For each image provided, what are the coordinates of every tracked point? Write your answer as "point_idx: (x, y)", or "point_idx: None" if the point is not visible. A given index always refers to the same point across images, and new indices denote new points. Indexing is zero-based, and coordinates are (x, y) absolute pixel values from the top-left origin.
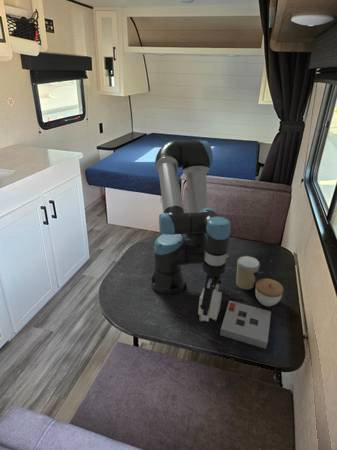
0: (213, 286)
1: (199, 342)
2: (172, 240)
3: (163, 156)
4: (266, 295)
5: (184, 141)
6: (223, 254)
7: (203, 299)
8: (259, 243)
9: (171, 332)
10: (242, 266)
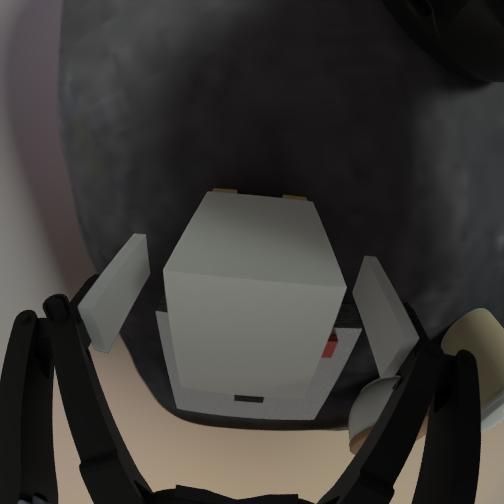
0: (389, 335)
1: (93, 217)
2: None
3: None
4: (355, 438)
5: None
6: None
7: (4, 380)
8: None
9: (91, 83)
10: (495, 404)
